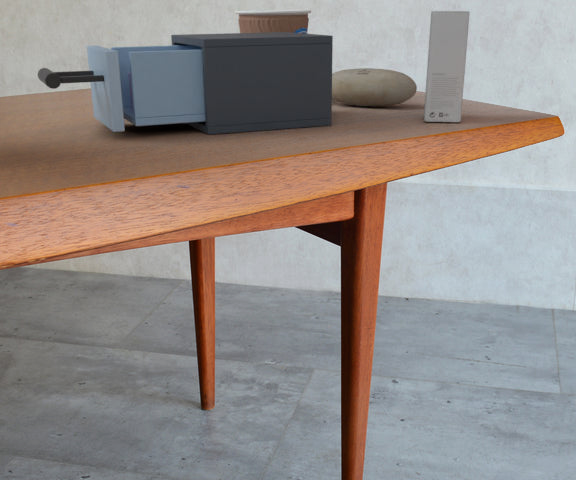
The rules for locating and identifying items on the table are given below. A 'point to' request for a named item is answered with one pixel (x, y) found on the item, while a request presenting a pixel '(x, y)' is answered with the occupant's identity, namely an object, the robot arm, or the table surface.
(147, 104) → the drawer
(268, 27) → the coffee cup
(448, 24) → the cosmetic box
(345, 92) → the stone
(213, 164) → the table surface
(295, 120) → the cabinet
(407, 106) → the table surface
